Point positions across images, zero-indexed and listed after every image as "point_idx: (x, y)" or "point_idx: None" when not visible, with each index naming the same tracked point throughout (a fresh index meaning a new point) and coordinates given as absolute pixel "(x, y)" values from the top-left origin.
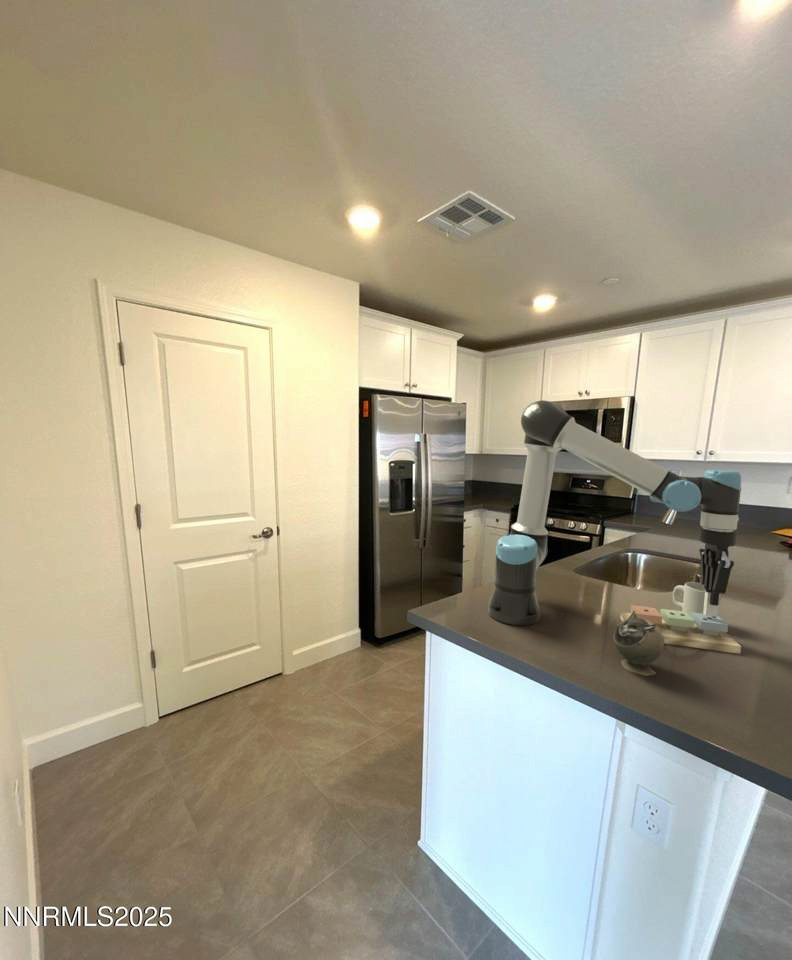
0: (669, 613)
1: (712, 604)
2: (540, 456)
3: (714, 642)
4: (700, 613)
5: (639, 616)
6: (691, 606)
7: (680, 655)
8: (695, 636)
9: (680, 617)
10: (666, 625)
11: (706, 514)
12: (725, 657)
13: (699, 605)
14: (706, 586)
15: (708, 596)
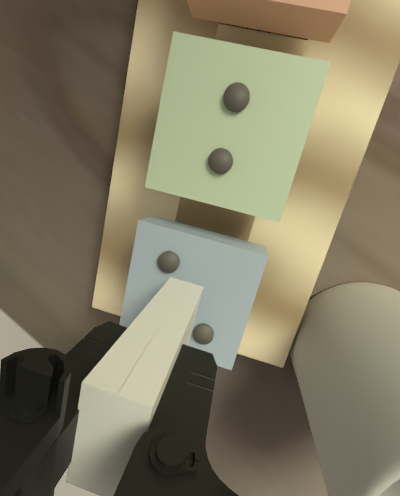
0: (243, 82)
1: (103, 328)
2: None
3: (105, 227)
4: (252, 299)
5: None
6: (374, 331)
7: (59, 54)
8: None
9: (180, 122)
10: None
11: None
12: (75, 225)
13: (342, 364)
14: (128, 468)
15: (110, 355)
